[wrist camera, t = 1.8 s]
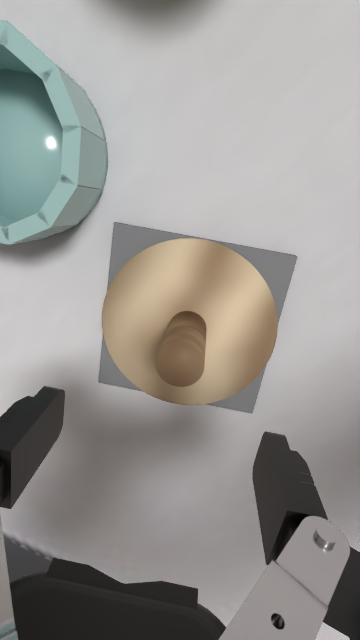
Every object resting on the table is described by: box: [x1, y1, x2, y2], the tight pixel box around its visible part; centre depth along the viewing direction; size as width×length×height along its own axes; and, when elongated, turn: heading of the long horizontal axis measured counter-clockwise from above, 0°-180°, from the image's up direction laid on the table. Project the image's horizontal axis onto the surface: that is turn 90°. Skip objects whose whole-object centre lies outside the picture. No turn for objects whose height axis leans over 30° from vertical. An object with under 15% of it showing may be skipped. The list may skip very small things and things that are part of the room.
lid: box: [102, 238, 278, 405], centre depth 22 cm, size 13×13×7 cm
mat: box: [98, 222, 297, 413], centre depth 25 cm, size 13×13×1 cm
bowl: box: [0, 20, 108, 245], centre depth 21 cm, size 11×11×5 cm
